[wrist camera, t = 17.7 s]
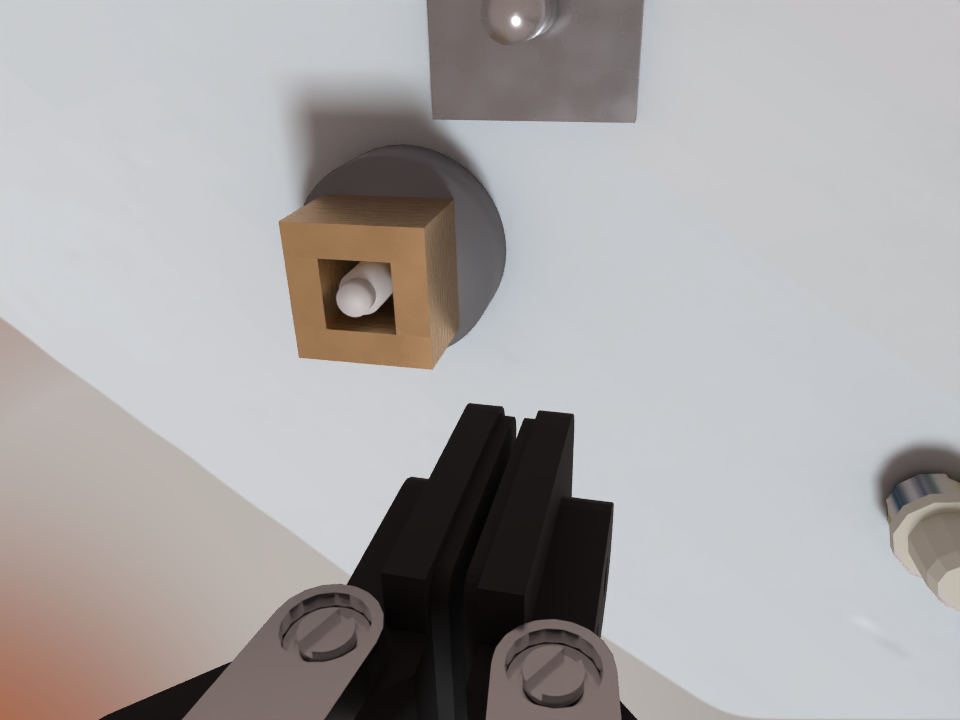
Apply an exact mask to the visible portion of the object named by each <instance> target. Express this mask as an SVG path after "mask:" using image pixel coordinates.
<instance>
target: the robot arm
mask: <svg viewBox="0 0 960 720" xmlns="http://www.w3.org/2000/svg"><path fill="white" fill-rule="evenodd" d="M573 445H574V414H569V413H560V412H550V411H538V413H537V416H536V418H535V419H529V418H524V420H523V422H522V425H521V428H520V431H519V433H518V436H517V439H516V419H515V417H511V416H505V413H504V408H503V407H501V406H492V405H482V404H472V403H469V404H468V405H467V406H466V408H465V410H464V412H463V414H462V415H461V417H460V419H459V421H458V423H457V425H456V427H455V429H454V431H453V433H452V435H451V437H450V439H449V441H448V443H447V445H446V447H445V449H444V450H443V452H442V454H441V456H440V458H439V460H438V462H437V464H436V466H435V468H434V470H433V472H432V474H431V476H430V478H429V479H424V478H416V477H410V478H407V480H406V481H405V482H404V484H403V485H402V487H401V489H400V490H399V492H398V494H397V496H396V498H395V499H394V501H393V503H392V505H391V507H390V508H389V510H388V512H387V514H386V516H385V517H384V519H383V521H382V523H381V524H380V526H379V528H378V530H377V532H376V533H375V535H374V537H373V539H372V541H371V542H370V544H369V546H368V548H367V549H366V551H365V553H364V555H363V557H362V558H361V560H360V562H359V564H358V566H357V567H356V569H355V571H354V573H353V574H352V576H351V578H350V580H349V582H348V584H347V585H343V584H332V585H322V586H318V587H314V588H311V589H308V590H305V591H303V592H301V593H299V594H297V595H295V596H294V597H292V598H290V599H289V600H288V601H286V602H285V603H284V604H283V605H282V606H281V607H280V608H278V609H277V610H276V612H275V613H274V614H273V615H272V616H271V617H270V618H269V620H268V621H267V622H266V623H265V624H264V625H263V627H262V628H261V629H260V630H259V631H258V632H257V634H256V635H255V636H254V637H253V638H252V639H251V640H250V642H249V643H248V644H247V645H246V646H245V648H244V649H243V650H242V651H241V652H240V653H239V654H238V656H237V657H236V658H235V659H234V660H233V661H232V662H230V663H227V664H225V665H222V666H220V667H218V668H215V669H213V670H211V671H209V672H206V673H204V674H201V675H199V676H197V677H195V678H192V679H190V680H188V681H185V682H183V683H181V684H178V685H176V686H174V687H171V688H169V689H167V690H164V691H162V692H160V693H157V694H155V695H153V696H150V697H148V698H146V699H144V700H141V701H139V702H136V703H134V704H132V705H129V706H127V707H125V708H122V709H120V710H118V711H115V712H113V713H111V714H108V715H107V716H105V717H103V718H101V719H99V720H637V719H636V718H635V717H634V716H633V714H632V713H631V712H630V711H629V710H628V709H627V708H626V707H625V706H624V705H623V704H622V702H621V701H620V698H619V687H618V675H617V668H616V664H615V661H614V657H613V654H612V653H611V651H610V650H609V648H608V647H607V645H606V644H605V643H604V641H603V640H602V639H600V637H601V630H602V623H603V615H604V608H605V600H606V592H607V583H608V574H609V563H610V552H611V539H612V525H613V507H614V504H613V503H612V502H604V501H596V500H589V499H581V498H573V497H572V471H573Z"/></svg>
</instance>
